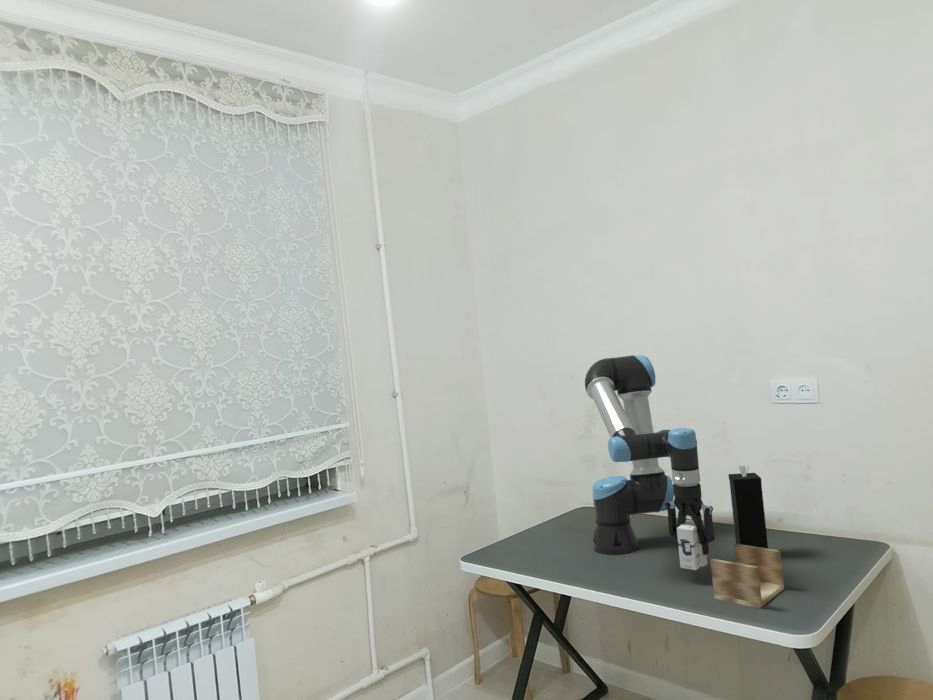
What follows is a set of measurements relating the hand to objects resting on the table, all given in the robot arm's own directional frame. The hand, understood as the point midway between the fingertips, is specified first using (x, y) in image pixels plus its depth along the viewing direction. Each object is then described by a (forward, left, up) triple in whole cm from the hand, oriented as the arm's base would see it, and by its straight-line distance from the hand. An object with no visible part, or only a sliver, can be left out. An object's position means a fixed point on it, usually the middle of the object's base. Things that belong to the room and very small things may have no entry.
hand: (693, 562), depth 185 cm
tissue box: (+6, +25, -5) cm, 27 cm away
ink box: (0, 0, -1) cm, 1 cm away
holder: (+17, -3, -5) cm, 17 cm away
